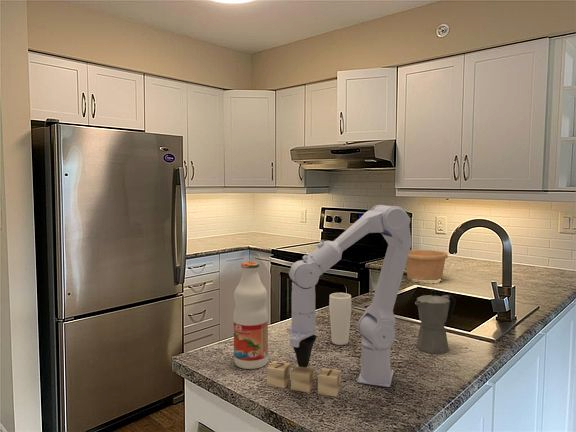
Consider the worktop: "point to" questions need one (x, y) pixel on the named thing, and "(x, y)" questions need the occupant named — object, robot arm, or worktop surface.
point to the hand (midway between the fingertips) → (303, 365)
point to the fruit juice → (250, 319)
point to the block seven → (278, 374)
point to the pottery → (425, 264)
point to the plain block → (302, 378)
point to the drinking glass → (340, 317)
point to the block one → (329, 382)
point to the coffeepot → (434, 322)
